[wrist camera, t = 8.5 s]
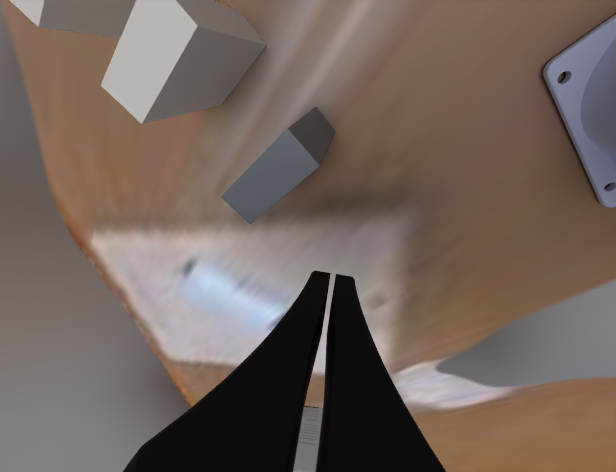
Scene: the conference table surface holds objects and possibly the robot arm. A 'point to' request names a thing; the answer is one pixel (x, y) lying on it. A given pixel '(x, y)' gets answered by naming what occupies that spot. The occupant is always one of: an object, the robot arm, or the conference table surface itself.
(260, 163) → the tile
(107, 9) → the tile
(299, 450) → the skincare box
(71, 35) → the conference table surface
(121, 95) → the tile
